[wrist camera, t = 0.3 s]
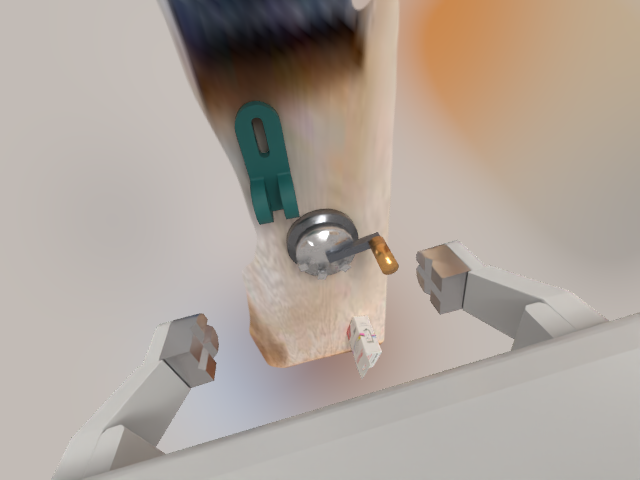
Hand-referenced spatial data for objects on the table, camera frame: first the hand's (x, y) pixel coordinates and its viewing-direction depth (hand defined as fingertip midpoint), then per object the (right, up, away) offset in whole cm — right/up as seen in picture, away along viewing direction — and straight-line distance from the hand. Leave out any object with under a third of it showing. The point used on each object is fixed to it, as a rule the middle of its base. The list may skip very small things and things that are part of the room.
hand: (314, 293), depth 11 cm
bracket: (-9, +16, +37) cm, 41 cm away
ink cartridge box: (+11, -23, +74) cm, 79 cm away
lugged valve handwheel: (+4, +2, +48) cm, 48 cm away
